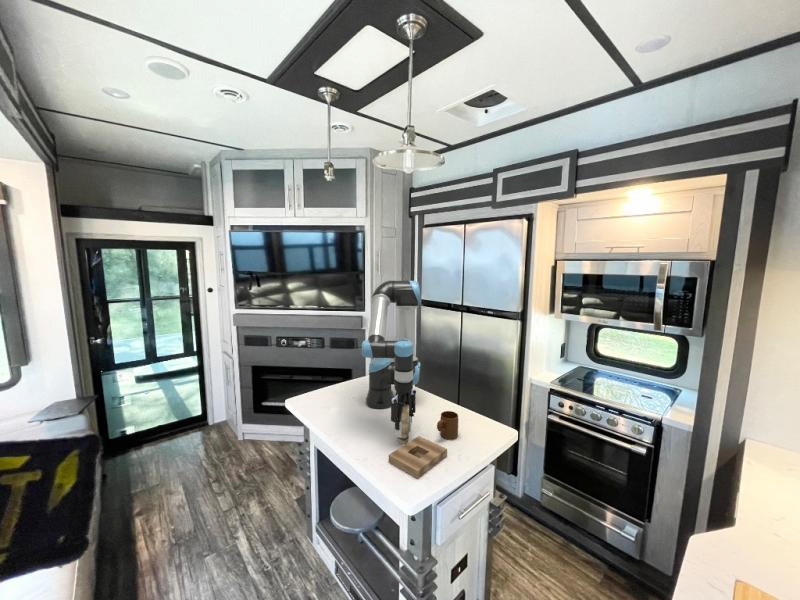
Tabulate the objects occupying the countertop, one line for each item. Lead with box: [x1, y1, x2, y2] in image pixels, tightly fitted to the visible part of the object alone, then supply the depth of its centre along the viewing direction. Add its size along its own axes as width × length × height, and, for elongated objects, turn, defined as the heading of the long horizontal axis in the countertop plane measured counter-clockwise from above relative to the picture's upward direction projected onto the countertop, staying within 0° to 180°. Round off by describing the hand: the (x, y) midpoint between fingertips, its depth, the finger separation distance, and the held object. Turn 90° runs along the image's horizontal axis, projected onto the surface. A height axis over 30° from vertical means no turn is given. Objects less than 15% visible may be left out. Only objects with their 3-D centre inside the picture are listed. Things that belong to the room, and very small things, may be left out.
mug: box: [436, 410, 459, 441], centre depth 139 cm, size 12×8×9 cm, turn 136°
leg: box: [397, 403, 410, 446], centre depth 135 cm, size 5×5×16 cm
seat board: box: [388, 435, 448, 480], centre depth 124 cm, size 18×14×3 cm
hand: (403, 433), depth 136 cm, fingers open, 5 cm apart
